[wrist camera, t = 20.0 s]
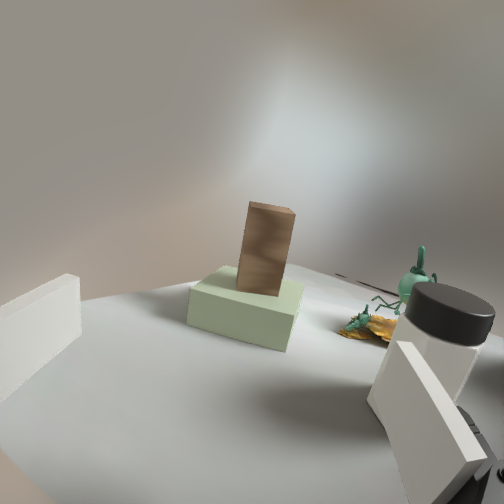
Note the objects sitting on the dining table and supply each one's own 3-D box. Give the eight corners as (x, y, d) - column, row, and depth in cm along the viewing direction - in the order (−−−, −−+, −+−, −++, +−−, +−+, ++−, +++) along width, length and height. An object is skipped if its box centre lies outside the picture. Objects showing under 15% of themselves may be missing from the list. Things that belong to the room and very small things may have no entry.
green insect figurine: (330, 314, 47) (363, 222, 44) (425, 340, 46) (459, 259, 43) (337, 342, 38) (380, 231, 35) (446, 369, 37) (489, 274, 33)
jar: (458, 431, 21) (515, 317, 18) (394, 448, 20) (459, 317, 17) (415, 382, 30) (453, 283, 27) (355, 387, 28) (393, 275, 26)
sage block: (297, 316, 45) (304, 284, 44) (284, 355, 34) (294, 315, 33) (219, 296, 48) (224, 265, 47) (186, 326, 36) (190, 288, 35)
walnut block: (273, 281, 42) (288, 208, 40) (278, 296, 37) (295, 214, 35) (236, 276, 42) (249, 201, 39) (236, 291, 37) (251, 206, 34)
